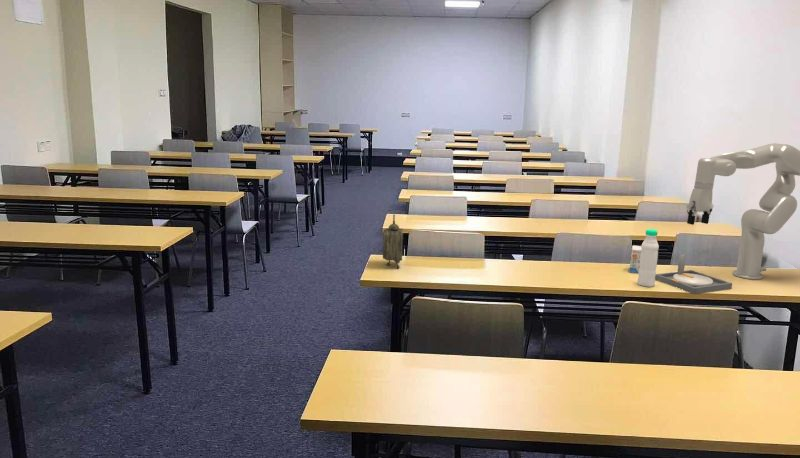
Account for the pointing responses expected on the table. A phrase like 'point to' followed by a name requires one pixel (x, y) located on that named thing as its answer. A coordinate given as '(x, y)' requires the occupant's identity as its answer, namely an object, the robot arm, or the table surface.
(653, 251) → the water bottle
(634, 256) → the ink box
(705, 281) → the dial
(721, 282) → the gray square tray
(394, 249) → the ribbed lidded container
